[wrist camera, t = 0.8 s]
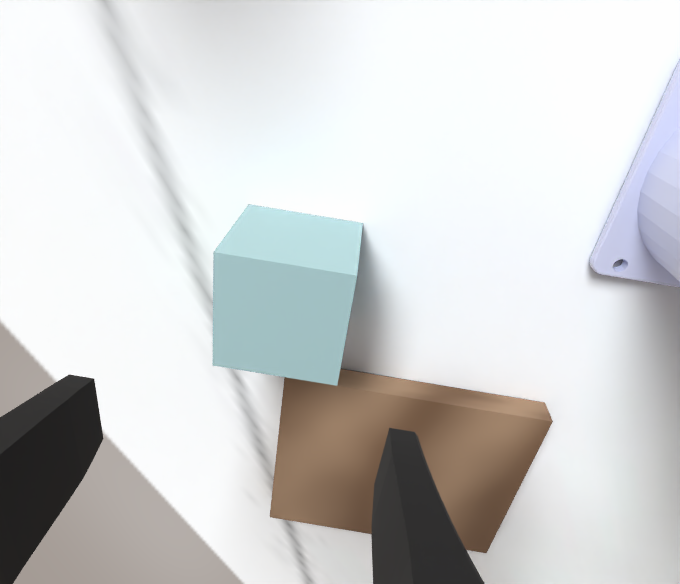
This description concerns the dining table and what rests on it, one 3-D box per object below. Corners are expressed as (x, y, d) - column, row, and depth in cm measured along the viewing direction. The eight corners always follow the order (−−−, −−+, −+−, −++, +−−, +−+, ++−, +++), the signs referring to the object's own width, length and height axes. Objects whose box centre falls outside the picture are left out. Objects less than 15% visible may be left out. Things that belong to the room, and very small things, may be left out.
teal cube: (363, 222, 19) (357, 275, 15) (346, 317, 21) (337, 385, 17) (249, 203, 19) (213, 252, 15) (244, 300, 21) (212, 365, 17)
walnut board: (544, 402, 22) (552, 421, 21) (482, 532, 27) (486, 552, 26) (289, 360, 22) (284, 376, 21) (274, 497, 27) (269, 517, 26)
